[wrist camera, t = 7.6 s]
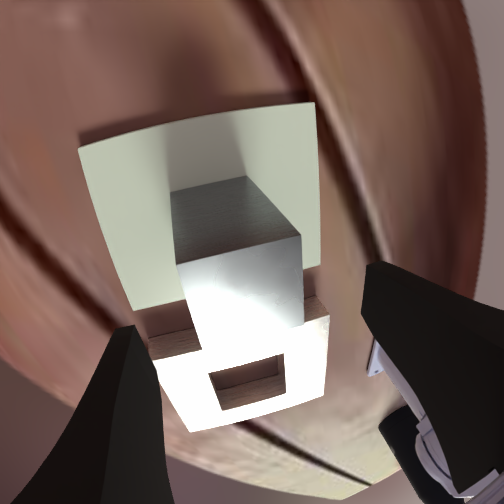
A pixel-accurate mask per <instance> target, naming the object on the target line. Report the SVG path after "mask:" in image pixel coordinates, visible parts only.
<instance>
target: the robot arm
mask: <svg viewBox="0 0 504 504" xmlns="http://www.w3.org/2000/svg"><path fill="white" fill-rule="evenodd" d="M361 315H362V317H363V318H364V320H365V322H366V324H367V326H368V328H369V329H370V331H371V333H372V334H373V336H374V338H375V341H374V345H373V350H372V354H371V358H370V362H369V366H368V370H367V375H368V376H373V375H375V374H378V373H380V372H382V371H385V372H386V374H387V375H388V376H389V378H390V379H391V381H392V382H393V384H394V385H395V386H396V388H397V389H398V391H399V392H400V394H401V395H402V396H403V398H404V399H405V401H406V402H407V404H408V405H409V407H410V408H411V410H412V411H413V412H414V414H415V415H416V417H417V418H418V420H419V421H420V423H419V424H417V425H416V427H417V429H418V430H419V432H420V433H419V434H418V435H417V436H416V444H415V448H416V453H417V455H418V458H419V460H420V462H421V463H422V465H423V467H424V468H425V469H426V471H427V472H428V473H429V474H430V476H431V477H432V478H434V479H435V480H436V481H438V482H439V483H440V484H441V485H442V486H443V487H444V488H445V489H446V490H447V492H448V493H449V494H451V495H453V497H455V498H465V497H473V498H472V499H470V500H469V501H468V502H466V503H465V504H504V310H500V309H497V308H494V307H491V306H488V305H485V304H482V303H479V302H477V301H474V300H471V299H469V298H467V297H464V296H462V295H459V294H457V293H454V292H452V291H450V290H448V289H445V288H443V287H441V286H439V285H437V284H434V283H432V282H430V281H428V280H426V279H424V278H421V277H419V276H417V275H415V274H413V273H411V272H408V271H406V270H404V269H402V268H400V267H397V266H395V265H393V264H390V263H387V262H385V261H379V262H375V263H372V264H369V265H366V275H365V284H364V292H363V300H362V308H361ZM11 504H175V503H174V500H173V496H172V491H171V487H170V483H169V478H168V474H167V468H166V459H165V446H164V432H163V416H162V399H161V393H160V386H159V380H158V374H157V369H156V367H155V365H154V363H153V361H152V359H151V357H150V355H149V354H148V352H147V350H146V347H145V345H144V343H143V341H142V339H141V337H140V335H139V333H138V331H137V329H136V327H135V325H131V326H126V327H122V328H117V329H115V331H114V332H113V334H112V336H111V338H110V340H109V342H108V345H107V347H106V349H105V351H104V353H103V355H102V357H101V359H100V361H99V364H98V366H97V368H96V370H95V372H94V374H93V376H92V378H91V380H90V382H89V384H88V387H87V389H86V391H85V393H84V395H83V396H82V398H81V400H80V402H79V404H78V406H77V408H76V410H75V412H74V414H73V416H72V418H71V419H70V421H69V423H68V425H67V426H66V428H65V430H64V432H63V433H62V435H61V436H60V438H59V440H58V441H57V443H56V445H55V446H54V448H53V449H52V451H51V452H50V454H49V455H48V456H47V458H46V459H45V461H44V462H43V463H42V465H41V466H40V468H39V469H38V471H37V472H36V474H35V475H34V476H33V477H32V479H31V480H30V481H29V483H28V484H27V485H26V486H25V487H24V489H23V490H22V491H21V493H19V494H18V496H17V497H16V498H15V499H14V500H13V501H12V503H11Z"/></svg>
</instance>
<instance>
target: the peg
mask: <svg viewBox="0 0 504 504" xmlns="http://www.w3.org/2000/svg"><path fill="white" fill-rule="evenodd" d="M170 205H171V218H172V230H173V242H174V252H175V262H176V267H177V271H178V274H179V278H180V281H181V284H182V287H183V291H184V294H185V297H186V300H187V303H188V307H189V310H190V313H191V316H192V319H193V322H194V325H195V328H196V331H197V334H198V337H199V340H200V343H201V346H202V349H203V351H204V353H205V352H209V351H213V350H217V349H221V348H225V347H229V346H233V345H237V344H240V343H244V342H248V341H251V340H255V339H259V338H262V337H266V336H269V335H273V334H276V333H280V332H283V331H286V330H290V329H293V328H296V327H299V326H303V325H304V292H303V262H302V239H301V234H300V233H299V232H298V231H297V229H296V228H295V227H294V226H293V225H292V224H291V223H290V222H289V220H288V219H287V218H286V217H285V216H284V215H283V214H282V213H281V212H280V211H279V209H278V208H277V207H276V206H275V205H274V204H273V203H272V202H271V201H270V200H269V198H268V197H267V196H266V195H265V194H264V193H263V192H262V191H261V190H260V189H259V188H258V187H257V185H256V184H255V183H254V182H253V181H252V180H251V179H250V178H249V177H248V176H242V177H237V178H232V179H227V180H222V181H217V182H213V183H208V184H204V185H199V186H195V187H190V188H186V189H182V190H177V191H173V192H170Z"/></svg>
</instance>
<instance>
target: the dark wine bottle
mask: <svg viewBox="0 0 504 504" xmlns="http://www.w3.org/2000/svg"><path fill="white" fill-rule="evenodd" d="M419 423H420V421H419V420H418V418H417V417H416V415H415V414H414V412H413V411H412V410H411V408H410V407H409V405H408V406H405V407H402V408H400V409H398V410H397V411H395V412H394V413H392V414H391V415H389V416H388V417H387V418H386V419H385V420H384V421H382V423H381V424H380V425H379V430H380V432H381V434H382V436H383V437H384V439H385V441H386V442H387V444H388V446H389V447H390V449H391V451H392V452H393V454H394V456H395V457H396V459H397V461H398V462H399V464H400V466H401V468H402V469H403V471H404V472H405V474H406V476H407V478H408V479H409V481H410V483H411V485H412V486H413V488H414V490H415V491H416V493H417V495H418V497H419V498H420V499H421V500H422V502H423V503H424V504H465V503H464V498H455V497H453V495H451V494H449V493H448V492H447V490H446V489H445V488H444V487H443V486H442V485H441V484H440V483H439V482H438V481H436V480H435V479H434V478H432V477H431V476H430V474H429V473H428V472H427V471H426V469H425V468H424V467H423V465H422V463H421V462H420V460H419V458H418V455H417V453H416V448H415V444H416V436H417V435H418V434H419V433H420V432H419V430H418V429H417V427H416V425H417V424H419Z"/></svg>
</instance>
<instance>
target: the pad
mask: <svg viewBox="0 0 504 504" xmlns="http://www.w3.org/2000/svg"><path fill="white" fill-rule="evenodd" d="M78 152H79V156H80V160H81V164H82V167H83V171H84V175H85V178H86V182H87V185H88V189H89V192H90V195H91V199H92V202H93V205H94V208H95V211H96V214H97V218H98V221H99V224H100V227H101V229H102V232H103V235H104V238H105V241H106V244H107V247H108V249H109V252H110V255H111V257H112V260H113V263H114V265H115V268H116V271H117V273H118V276H119V278H120V281H121V283H122V286H123V288H124V290H125V293H126V295H127V298H128V300H129V302H130V305H131V307H132V309H133V311H135V310H139V309H144V308H148V307H153V306H157V305H161V304H166V303H170V302H174V301H179V300H183V299H186V297H185V294H184V291H183V287H182V284H181V281H180V278H179V274H178V271H177V267H176V262H175V252H174V242H173V230H172V218H171V205H170V192H173V191H177V190H182V189H186V188H190V187H195V186H199V185H204V184H208V183H213V182H217V181H222V180H227V179H232V178H237V177H242V176H248V177H249V178H250V179H251V180H252V181H253V182H254V183H255V184H256V185H257V187H258V188H259V189H260V190H261V191H262V192H263V193H264V194H265V195H266V196H267V197H268V198H269V200H270V201H271V202H272V203H273V204H274V205H275V206H276V207H277V208H278V209H279V211H280V212H281V213H282V214H283V215H284V216H285V217H286V218H287V219H288V220H289V222H290V223H291V224H292V225H293V226H294V227H295V228H296V229H297V231H298V232H299V233H300V234H301V239H302V262H303V269H306V268H310V267H314V266H317V265H320V196H319V168H318V148H317V131H316V116H315V103H313V102H303V103H291V104H281V105H271V106H263V107H255V108H247V109H240V110H233V111H227V112H221V113H215V114H209V115H203V116H198V117H193V118H188V119H183V120H178V121H173V122H169V123H164V124H160V125H156V126H151V127H147V128H143V129H139V130H135V131H131V132H128V133H124V134H120V135H117V136H113V137H110V138H106V139H103V140H100V141H96V142H93V143H90V144H87V145H84V146H81V147H79V148H78Z"/></svg>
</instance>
